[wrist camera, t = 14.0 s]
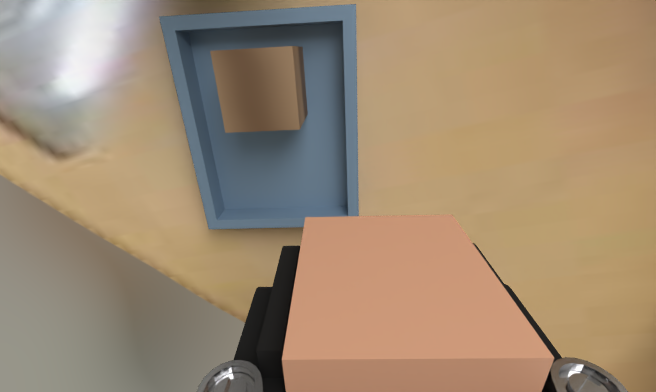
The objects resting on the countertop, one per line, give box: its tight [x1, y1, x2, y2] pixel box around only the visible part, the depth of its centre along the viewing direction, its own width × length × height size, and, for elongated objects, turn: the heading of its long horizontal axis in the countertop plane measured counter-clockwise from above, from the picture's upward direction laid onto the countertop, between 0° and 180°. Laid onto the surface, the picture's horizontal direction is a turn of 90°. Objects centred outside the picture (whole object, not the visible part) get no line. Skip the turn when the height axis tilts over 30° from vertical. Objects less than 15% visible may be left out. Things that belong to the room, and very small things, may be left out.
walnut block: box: [210, 46, 308, 133], centre depth 21 cm, size 4×4×5 cm
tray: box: [159, 4, 359, 229], centre depth 24 cm, size 12×15×2 cm
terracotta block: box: [282, 215, 554, 392], centre depth 9 cm, size 4×4×5 cm
